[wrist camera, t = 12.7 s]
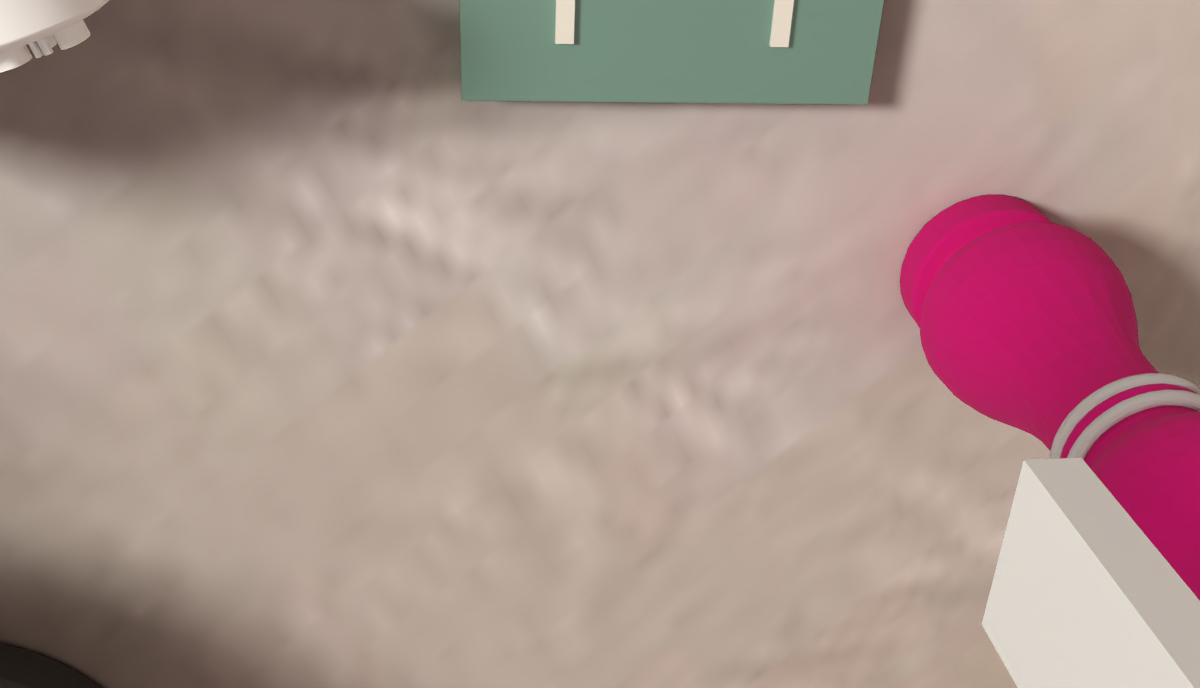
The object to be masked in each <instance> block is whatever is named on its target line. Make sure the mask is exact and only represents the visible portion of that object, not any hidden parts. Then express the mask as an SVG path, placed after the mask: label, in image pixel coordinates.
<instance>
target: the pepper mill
mask: <svg viewBox="0 0 1200 688" xmlns="http://www.w3.org/2000/svg"><path fill="white" fill-rule="evenodd" d="M900 287H901V294H902V298H903V301H904V304H905V306H906V308H907V310H908V311H909V313H910V315H911V316H912V318H913V319H914V320H915V322H916V323H917V325H918V326H919V328H920V335H921V342H922V347H923V350H924V352H925V355H926V358H927V361H928V363H929V365H930V366H931V368H932V370H933V371H934V373H935V374H936V375H937V376H938V377H939V379H940V380H941V381H942V382H943V383H944V384H945V385H946V386H947V387H948V389H949V390H950V391H951V392H952V393H953V394H954V395H955V396H956V397H957V398H959V399H960V400H961V401H963V402H964V403H965V404H967V405H969V406H970V407H972V408H973V409H975V410H977V411H978V412H980V413H982V414H984V415H986V416H988V417H990V418H992V419H994V420H997V421H1000V422H1002V423H1005V424H1008V425H1010V426H1013V427H1016V428H1018V429H1021V430H1023V431H1026V432H1028V433H1030V434H1032V435H1034V436H1035V437H1037V438H1038V439H1039V440H1041V441H1042V442H1043V443H1044V444H1045V445H1046V447H1047V448H1048V449H1049V450H1050V451H1051V452H1050V459H1061V458H1082V459H1083V460H1084V461H1085V463H1086V464H1087V465H1088V466H1089V467H1090V469H1091V470H1092V471H1093V472H1094V473H1095V475H1096V476H1097V477H1098V478H1099V479H1100V481H1101V482H1102V483H1103V484H1104V486H1105V487H1106V488H1107V489H1108V490H1109V492H1110V493H1111V494H1112V495H1113V496H1114V498H1115V499H1116V500H1117V501H1118V502H1119V504H1120V505H1121V506H1122V507H1123V509H1124V510H1125V511H1126V512H1127V513H1128V515H1129V516H1130V517H1131V518H1132V519H1133V521H1134V522H1135V523H1136V524H1137V525H1138V527H1139V528H1140V529H1141V530H1142V531H1143V533H1144V534H1145V535H1146V536H1147V538H1148V539H1149V540H1150V541H1151V542H1152V544H1153V545H1154V546H1155V547H1156V548H1157V550H1158V551H1159V552H1160V553H1161V554H1162V556H1163V557H1164V558H1165V559H1166V561H1167V562H1168V563H1169V564H1170V565H1171V567H1172V568H1173V569H1174V570H1175V571H1176V573H1177V574H1178V575H1179V576H1180V577H1181V579H1182V580H1183V581H1184V582H1185V583H1186V585H1187V586H1188V587H1189V588H1190V590H1191V591H1192V592H1193V593H1194V594H1195V596H1196V597H1197V598H1198V599H1199V600H1200V388H1199V387H1197V386H1196V385H1195V384H1193V383H1192V382H1190V381H1188V380H1186V379H1183V378H1181V377H1178V376H1175V375H1169V374H1161V373H1158V372H1157V371H1156V370H1155V369H1154V367H1153V366H1152V365H1151V364H1150V363H1149V361H1148V360H1147V359H1146V358H1145V356H1144V355H1143V354H1142V352H1141V350H1140V348H1139V343H1138V329H1137V320H1136V314H1135V310H1134V306H1133V302H1132V298H1131V294H1130V291H1129V289H1128V287H1127V285H1126V282H1125V280H1124V278H1123V275H1122V273H1121V272H1120V270H1119V269H1118V268H1117V266H1116V265H1115V264H1114V262H1113V261H1112V260H1111V259H1110V258H1109V256H1108V255H1107V254H1106V253H1105V252H1104V251H1103V249H1102V248H1101V247H1100V246H1099V245H1097V244H1096V243H1095V242H1094V241H1093V240H1092V239H1090V238H1089V237H1087V236H1085V235H1083V234H1081V233H1080V232H1078V231H1076V230H1074V229H1072V228H1069V227H1065V226H1062V225H1058V224H1053V223H1052V222H1051V221H1050V220H1049V219H1048V218H1047V217H1046V216H1044V215H1043V214H1042V213H1041V212H1040V211H1039V210H1038V209H1036V208H1035V207H1034V206H1032V205H1031V204H1030V203H1027V202H1025V201H1023V200H1020V199H1018V198H1015V197H1010V196H1004V195H982V196H977V197H973V198H970V199H967V200H964V201H961V202H958V203H956V204H954V205H952V206H950V207H949V208H947V209H945V210H943V211H942V212H940V213H939V214H938V215H936V216H935V217H934V218H932V219H931V220H930V221H929V222H928V223H926V224H925V225H924V227H923V228H922V229H921V230H920V232H919V233H918V234H917V236H916V237H915V238H914V240H913V241H912V243H911V244H910V246H909V248H908V250H907V253H906V256H905V259H904V261H903V264H902V268H901V276H900Z"/></svg>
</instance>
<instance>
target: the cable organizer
mask: <svg viewBox="0 0 1200 688" xmlns="http://www.w3.org/2000/svg"><path fill="white" fill-rule="evenodd" d="M108 1H110V0H0V73H1V72H5V71H8V70H11V69H14V68H16V67H19V66H21V65H23V64H25V63H27V62H28V61H30V60H31V59H32V55H31V54H30V52H29V50H28V48H27V46H26V45H27V44H29V46H30V48H31V50H32V52H33V53H34V55H35V57H36V58H40V57H41V56H43V55H45V56H46V55H49V54H52V53H53V50H52V48H53V47H54V46H55V45H56V44H57V43H58V45H59V47H60V49H61V50H65V49H68V48H71V47H74V46H76V45H78V44H80V43H81V42H83V41H85V40H86V39H87V38H88V37H89V36H90V35H91V34H90V32H89V30H88V28H87V26H86V24H85V22H84V20H83V19H84V18H86V17H88V16H90V15H91V14H93V13H94V12H96V11H97V10H99V9H100V8H101V7H102V6H103V5H105V4H106V3H107V2H108ZM52 34H53V35H52ZM55 39H56V40H55ZM56 41H57V42H56Z"/></svg>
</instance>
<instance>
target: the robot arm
mask: <svg viewBox="0 0 1200 688" xmlns="http://www.w3.org/2000/svg"><path fill="white" fill-rule="evenodd" d="M982 626H983V627H984V629H985V631H986V633H987V635H988V636H989V638H990V640H991V642H992V643H993V645H994V647H995V649H996V650H997V652H998V654H999V656H1000V657H1001V659H1002V661H1003V663H1004V665H1005V666H1006V668H1007V670H1008V672H1009V673H1010V675H1011V677H1012V679H1013V680H1014V682H1015V684H1016V686H1017V687H1018V688H1200V600H1199V599H1198V598H1197V597H1196V596H1195V594H1194V593H1193V592H1192V591H1191V590H1190V588H1189V587H1188V586H1187V585H1186V583H1185V582H1184V581H1183V580H1182V579H1181V577H1180V576H1179V575H1178V574H1177V573H1176V571H1175V570H1174V569H1173V568H1172V567H1171V565H1170V564H1169V563H1168V562H1167V561H1166V559H1165V558H1164V557H1163V556H1162V554H1161V553H1160V552H1159V551H1158V550H1157V548H1156V547H1155V546H1154V545H1153V544H1152V542H1151V541H1150V540H1149V539H1148V538H1147V536H1146V535H1145V534H1144V533H1143V531H1142V530H1141V529H1140V528H1139V527H1138V525H1137V524H1136V523H1135V522H1134V521H1133V519H1132V518H1131V517H1130V516H1129V515H1128V513H1127V512H1126V511H1125V510H1124V509H1123V507H1122V506H1121V505H1120V504H1119V502H1118V501H1117V500H1116V499H1115V498H1114V496H1113V495H1112V494H1111V493H1110V492H1109V490H1108V489H1107V488H1106V487H1105V486H1104V484H1103V483H1102V482H1101V481H1100V479H1099V478H1098V477H1097V476H1096V475H1095V473H1094V472H1093V471H1092V470H1091V469H1090V467H1089V466H1088V465H1087V464H1086V463H1085V461H1084V460H1083V459H1082V458H1061V459H1033V460H1024V462H1023V466H1022V469H1021V473H1020V477H1019V481H1018V485H1017V489H1016V493H1015V497H1014V501H1013V505H1012V509H1011V512H1010V516H1009V520H1008V524H1007V528H1006V532H1005V536H1004V540H1003V544H1002V548H1001V551H1000V555H999V559H998V563H997V567H996V571H995V575H994V579H993V583H992V587H991V591H990V594H989V598H988V602H987V606H986V610H985V614H984V618H983V622H982ZM0 688H101V687H99V686H98V685H97V684H95V683H94V682H92V681H91V680H89V679H88V678H86V677H85V676H83V675H82V674H80V673H78V672H76V671H75V670H73V669H71V668H69V667H67V666H65V665H63V664H61V663H59V662H57V661H54V660H52V659H50V658H47V657H45V656H42V655H39V654H36V653H33V652H30V651H27V650H24V649H20V648H16V647H12V646H8V645H4V644H0Z"/></svg>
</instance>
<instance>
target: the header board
mask: <svg viewBox="0 0 1200 688" xmlns="http://www.w3.org/2000/svg"><path fill="white" fill-rule="evenodd" d="M883 3H884V0H460V45H461V91H462V100H465V101H565V102H664V103H764V104H864V105H867V104H868V97H869V91H870V85H871V79H872V72H873V66H874V60H875V53H876V47H877V41H878V35H879V28H880V22H881V16H882V10H883Z"/></svg>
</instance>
